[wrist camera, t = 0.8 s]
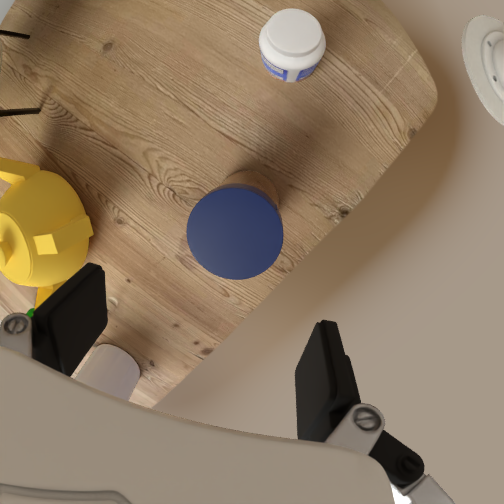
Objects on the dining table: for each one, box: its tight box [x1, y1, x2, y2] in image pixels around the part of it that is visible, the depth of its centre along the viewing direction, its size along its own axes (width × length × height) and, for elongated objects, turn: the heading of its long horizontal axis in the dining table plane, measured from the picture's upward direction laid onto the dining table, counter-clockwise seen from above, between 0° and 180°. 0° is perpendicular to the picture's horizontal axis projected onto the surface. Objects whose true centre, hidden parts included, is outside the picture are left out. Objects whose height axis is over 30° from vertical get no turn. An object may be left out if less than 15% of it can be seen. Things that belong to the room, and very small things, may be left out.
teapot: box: [0, 157, 94, 310], centre depth 28 cm, size 17×17×12 cm
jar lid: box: [187, 183, 283, 280], centre depth 21 cm, size 7×7×2 cm
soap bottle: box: [75, 344, 140, 401], centre depth 32 cm, size 9×9×25 cm
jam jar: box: [218, 170, 279, 210], centre depth 26 cm, size 7×7×11 cm
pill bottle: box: [259, 9, 326, 82], centre depth 20 cm, size 5×5×10 cm
